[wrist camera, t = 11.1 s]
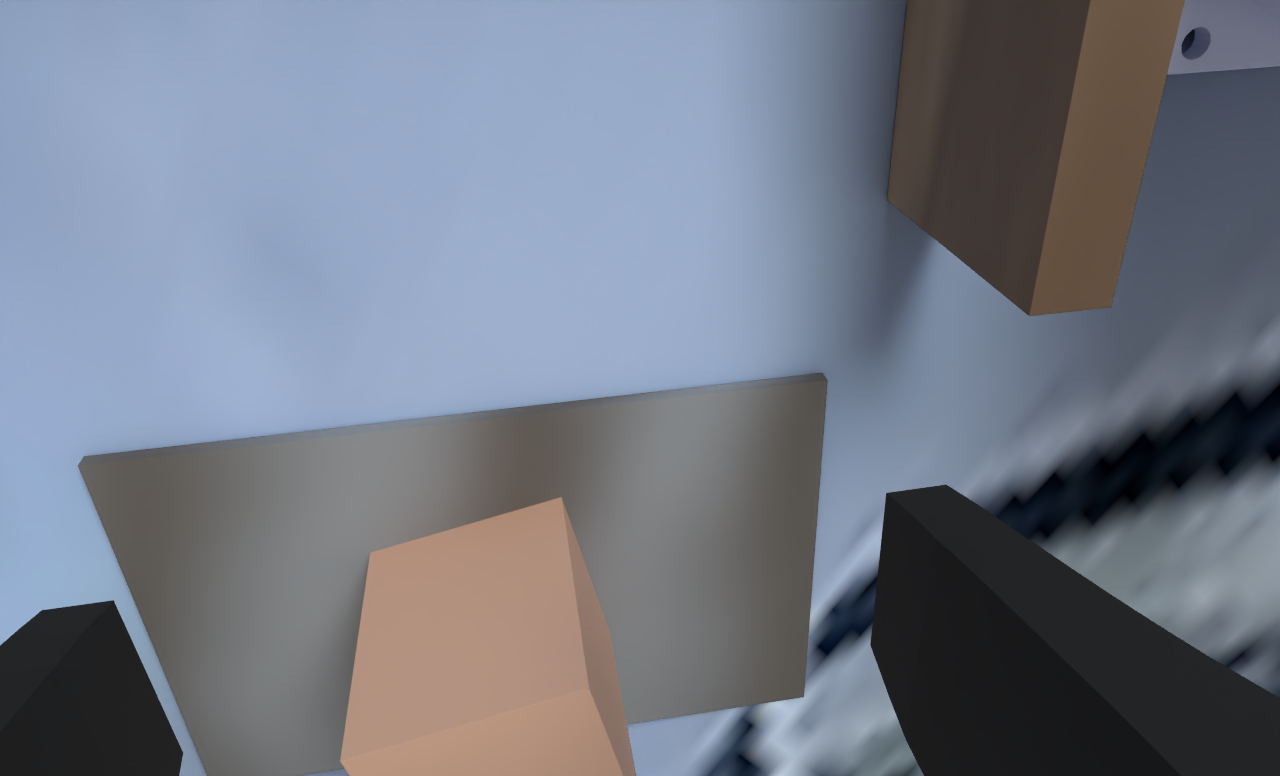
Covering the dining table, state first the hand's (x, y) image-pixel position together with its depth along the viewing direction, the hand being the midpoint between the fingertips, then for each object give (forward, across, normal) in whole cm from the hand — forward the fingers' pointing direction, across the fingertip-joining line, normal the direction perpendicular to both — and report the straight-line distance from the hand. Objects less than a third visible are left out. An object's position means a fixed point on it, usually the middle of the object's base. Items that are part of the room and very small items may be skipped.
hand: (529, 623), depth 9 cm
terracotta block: (+8, +1, +7) cm, 11 cm away
